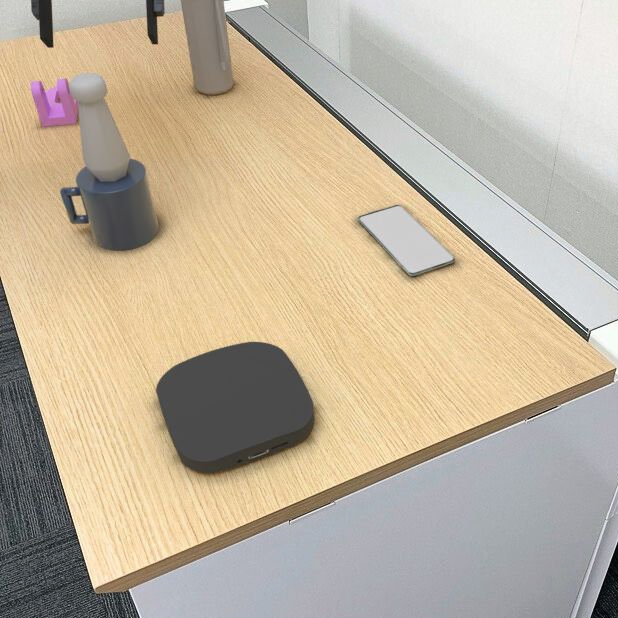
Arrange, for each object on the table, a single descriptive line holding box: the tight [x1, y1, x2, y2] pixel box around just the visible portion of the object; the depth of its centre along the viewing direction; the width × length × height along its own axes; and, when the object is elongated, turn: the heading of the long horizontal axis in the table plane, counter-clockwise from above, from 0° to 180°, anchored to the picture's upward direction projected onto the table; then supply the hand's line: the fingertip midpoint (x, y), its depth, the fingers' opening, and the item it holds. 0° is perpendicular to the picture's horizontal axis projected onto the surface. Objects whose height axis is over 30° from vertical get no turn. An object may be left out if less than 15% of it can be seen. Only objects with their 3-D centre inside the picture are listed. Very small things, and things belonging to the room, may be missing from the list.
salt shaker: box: [68, 72, 131, 182], centre depth 92 cm, size 6×6×13 cm
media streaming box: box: [155, 341, 315, 474], centre depth 77 cm, size 15×15×3 cm
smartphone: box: [358, 204, 456, 277], centre depth 100 cm, size 7×1×15 cm
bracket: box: [30, 78, 79, 128], centre depth 128 cm, size 13×6×7 cm, turn 11°
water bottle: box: [180, 0, 235, 96], centre depth 126 cm, size 9×8×25 cm
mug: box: [59, 158, 160, 251], centre depth 100 cm, size 12×9×9 cm
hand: (100, 41), depth 95 cm, fingers open, 13 cm apart
